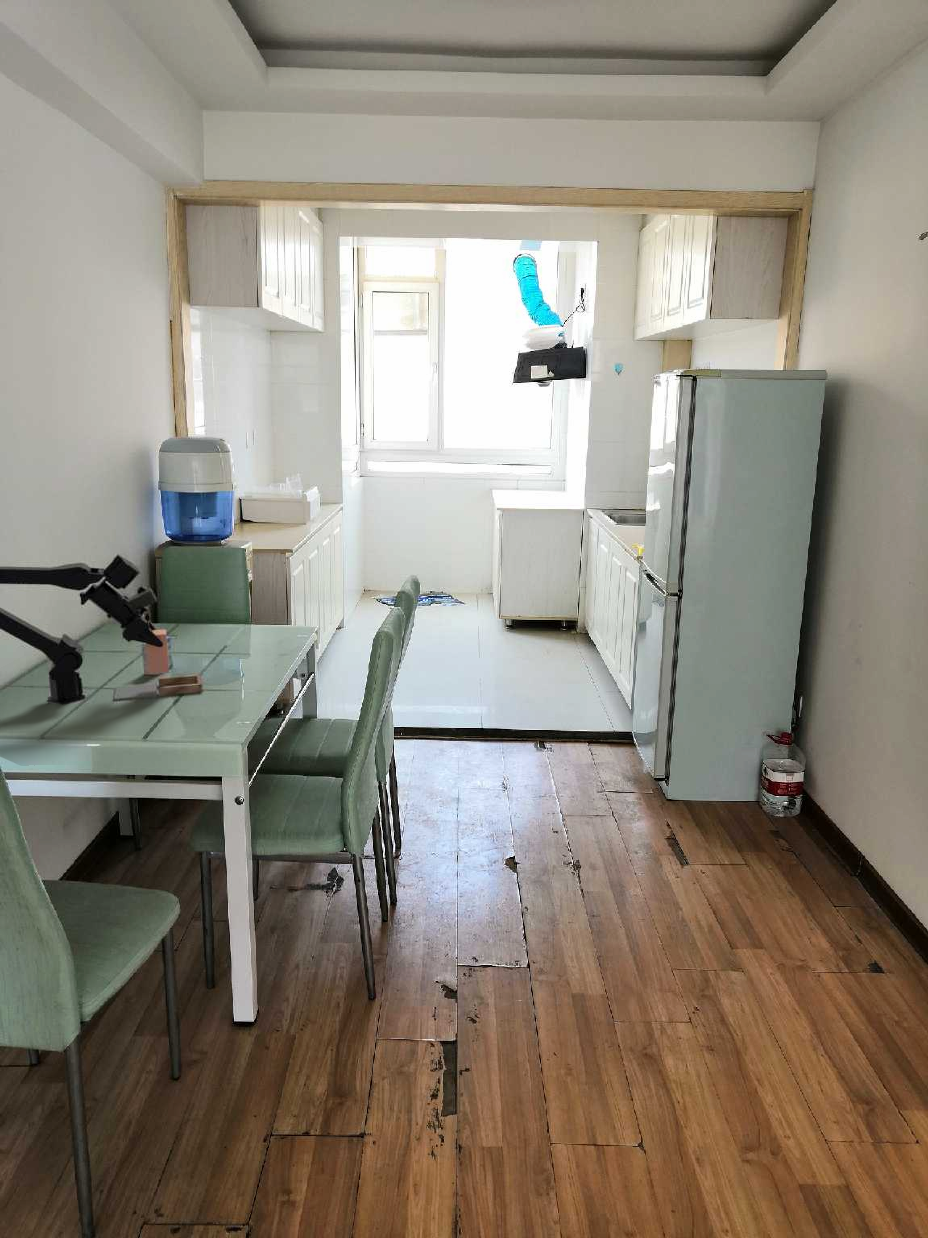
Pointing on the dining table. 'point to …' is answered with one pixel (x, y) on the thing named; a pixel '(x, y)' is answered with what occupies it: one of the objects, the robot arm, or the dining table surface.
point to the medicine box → (146, 657)
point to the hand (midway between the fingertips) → (162, 643)
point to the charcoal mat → (135, 691)
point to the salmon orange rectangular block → (158, 655)
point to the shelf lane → (180, 688)
